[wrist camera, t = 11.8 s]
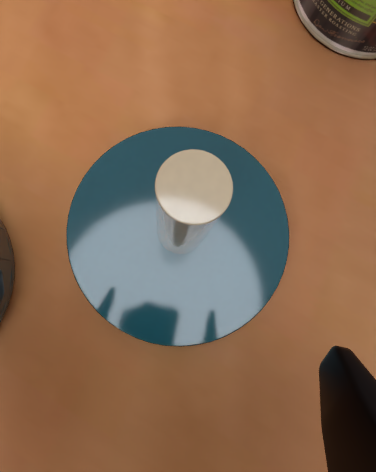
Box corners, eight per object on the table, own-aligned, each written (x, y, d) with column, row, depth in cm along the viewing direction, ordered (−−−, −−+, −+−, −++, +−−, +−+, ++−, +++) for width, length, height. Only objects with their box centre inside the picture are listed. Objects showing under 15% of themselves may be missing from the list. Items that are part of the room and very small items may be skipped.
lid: (220, 386, 21) (273, 465, 11) (27, 273, 22) (-87, 254, 12) (317, 198, 24) (431, 128, 14) (142, 98, 24) (129, -42, 14)
